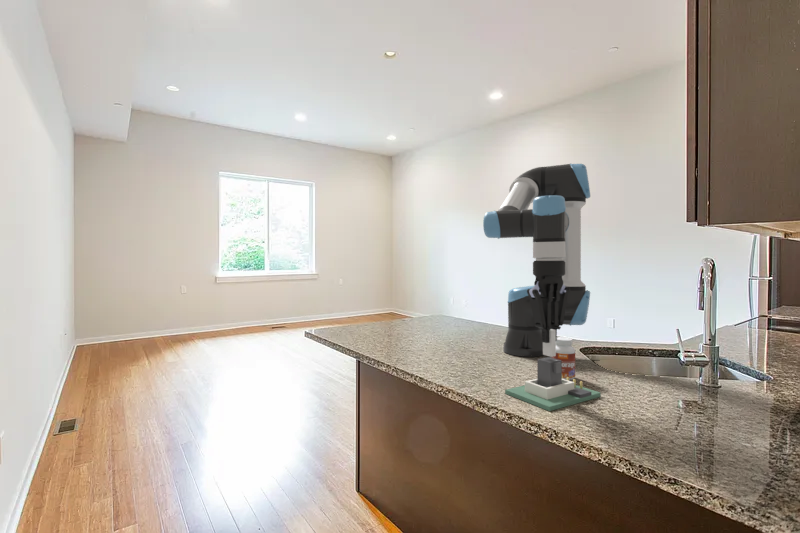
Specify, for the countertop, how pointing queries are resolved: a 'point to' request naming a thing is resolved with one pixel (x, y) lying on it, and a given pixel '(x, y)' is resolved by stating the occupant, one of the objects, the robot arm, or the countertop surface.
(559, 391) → the header board
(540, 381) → the plug
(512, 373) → the countertop surface
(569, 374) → the pill bottle
